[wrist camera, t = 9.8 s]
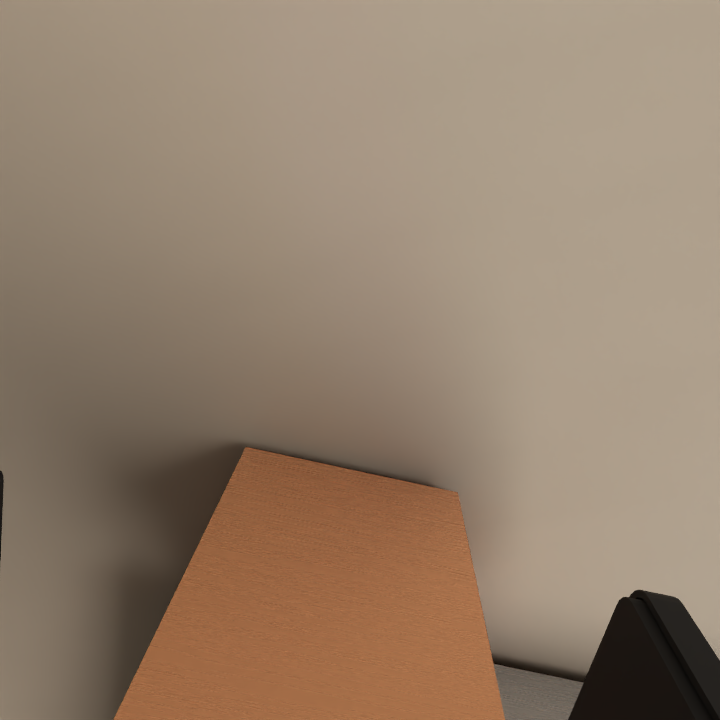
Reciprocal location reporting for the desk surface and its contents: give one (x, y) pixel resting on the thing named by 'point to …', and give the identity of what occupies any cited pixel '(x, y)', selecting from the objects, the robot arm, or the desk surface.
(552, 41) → the desk surface
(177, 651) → the tray
